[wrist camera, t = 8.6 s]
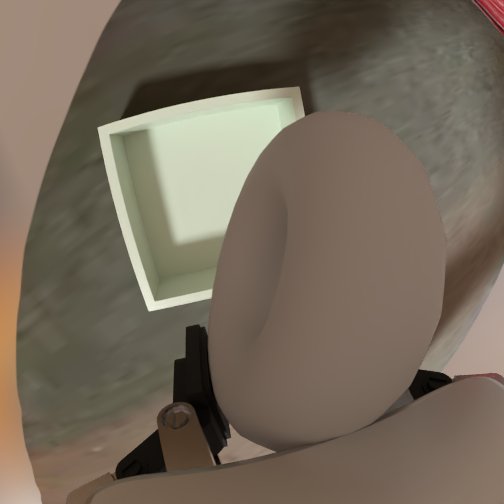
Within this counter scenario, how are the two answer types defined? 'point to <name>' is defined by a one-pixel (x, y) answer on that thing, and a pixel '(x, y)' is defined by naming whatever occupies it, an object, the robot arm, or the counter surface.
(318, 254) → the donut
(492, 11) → the dish towel
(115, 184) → the bin
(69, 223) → the counter surface
